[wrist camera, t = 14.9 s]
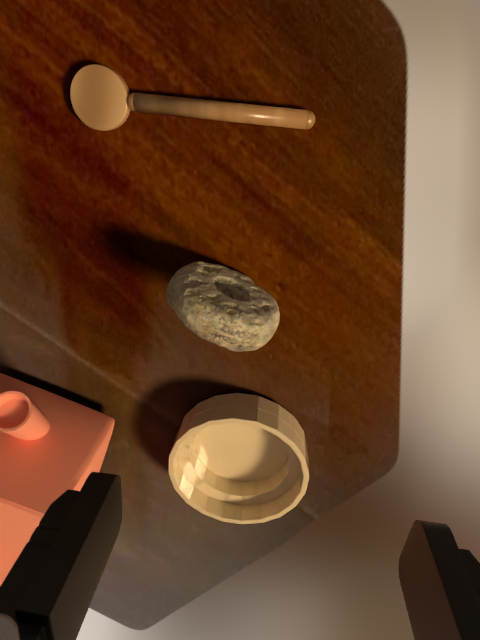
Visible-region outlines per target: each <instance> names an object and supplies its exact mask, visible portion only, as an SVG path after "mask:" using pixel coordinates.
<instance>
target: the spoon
mask: <svg viewBox="0 0 480 640" xmlns="http://www.w3.org/2000/svg"><path fill="white" fill-rule="evenodd" d="M70 97H71V102H72V106H73V108H74V110H75V112H76V114H77V116H78V117H79V118H80V120H81V121H82V122H83V123H85V124H86V125H87V126H89V127H90V128H93V129H95V130H100V131H109V130H114V129H116V128H118V127H120V126H121V125H122V124H123V123H124V122H125V121H126V119H127V118H128V116H129V113H130V109H131V110H132V111H134V112H142V113H152V114H161V115H171V116H181V117H190V118H200V119H210V120H219V121H229V122H239V123H248V124H258V125H268V126H277V127H287V128H297V129H310V128H311V127H312V126H313V125H314V123H315V115H314V113H313V112H312V111H310V110H302V109H292V108H282V107H272V106H263V105H253V104H243V103H233V102H223V101H213V100H203V99H193V98H184V97H174V96H164V95H154V94H144V93H131V94H130V92H129V89H128V86H127V84H126V83H125V81H124V80H123V78H122V77H121V76H120V75H119V74H118V73H117V72H116V71H114V70H113V69H111V68H109V67H106V66H103V65H98V64H92V65H87V66H85V67H83V68H81V69H80V70H79V71H78V72H77V73H76V75H75V76H74V78H73V80H72V83H71V89H70Z"/></svg>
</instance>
